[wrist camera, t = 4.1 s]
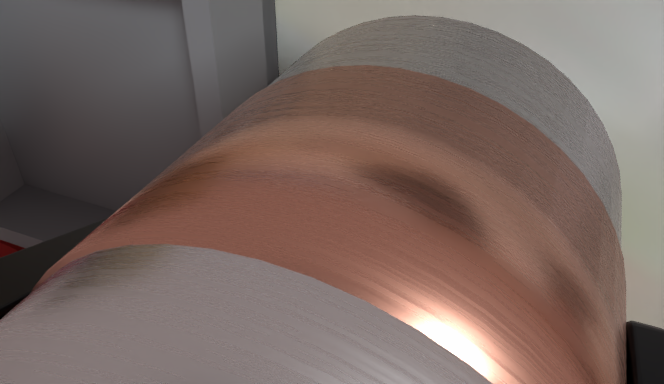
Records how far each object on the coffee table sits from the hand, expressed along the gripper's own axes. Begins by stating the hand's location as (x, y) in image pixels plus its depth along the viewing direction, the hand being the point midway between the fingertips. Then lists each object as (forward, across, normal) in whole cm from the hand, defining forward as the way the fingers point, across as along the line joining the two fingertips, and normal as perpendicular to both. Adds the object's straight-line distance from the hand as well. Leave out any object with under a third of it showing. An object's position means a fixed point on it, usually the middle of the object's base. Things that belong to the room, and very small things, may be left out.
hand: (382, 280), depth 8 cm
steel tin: (+2, 0, 0) cm, 2 cm away
